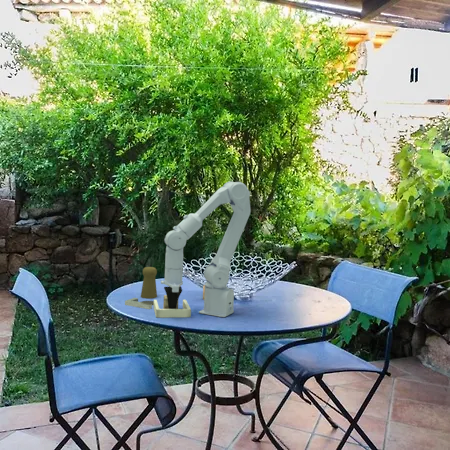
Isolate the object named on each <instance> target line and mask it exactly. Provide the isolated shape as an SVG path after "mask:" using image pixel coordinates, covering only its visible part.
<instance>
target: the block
mask: <svg viewBox="0 0 450 450" xmlns="http://www.w3.org/2000/svg"><path fill="white" fill-rule="evenodd" d="M162 305H163V307H162V309H169V307H168V300H167V295H166V294H163V304H162ZM176 309H179V301H178V302H177V306H176Z"/></svg>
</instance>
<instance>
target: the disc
mask: <svg viewBox="0 0 450 450" xmlns="http://www.w3.org/2000/svg"><path fill="white" fill-rule="evenodd" d="M141 302H142V303H148V304H152V306H153V304H154V300H153V301H152V300H142V301H141Z"/></svg>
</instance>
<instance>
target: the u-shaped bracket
mask: <svg viewBox="0 0 450 450" xmlns="http://www.w3.org/2000/svg"><path fill="white" fill-rule="evenodd" d="M153 301H154V304H153V305H152V308H153V310H154V315H155V318H163V319H164V318H191V315H192V309H191V307H190V305H189V303H188V301H187V299H182V308H178V309H163V308H160V306H159V303H158V299H153Z"/></svg>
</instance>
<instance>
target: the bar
mask: <svg viewBox="0 0 450 450" xmlns="http://www.w3.org/2000/svg"><path fill="white" fill-rule="evenodd" d="M124 306H128V307H132V308H134V307H135V308H141V309H146V310H152V309H153V305H152V304H148V303H142V301H139V298H138V297H132V298H129V299H126V300H125V301H124Z"/></svg>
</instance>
